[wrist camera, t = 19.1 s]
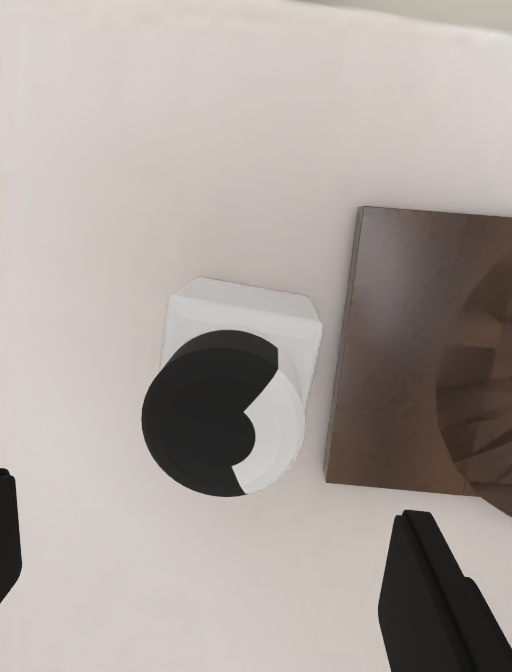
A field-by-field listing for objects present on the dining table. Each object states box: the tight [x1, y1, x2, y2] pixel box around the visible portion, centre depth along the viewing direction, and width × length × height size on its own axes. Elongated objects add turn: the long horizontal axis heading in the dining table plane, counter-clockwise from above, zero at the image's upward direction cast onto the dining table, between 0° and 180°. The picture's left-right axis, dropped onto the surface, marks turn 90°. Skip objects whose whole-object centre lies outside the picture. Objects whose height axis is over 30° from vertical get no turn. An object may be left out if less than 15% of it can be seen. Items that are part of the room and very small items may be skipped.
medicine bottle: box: [141, 277, 324, 497], centre depth 21 cm, size 7×7×12 cm
